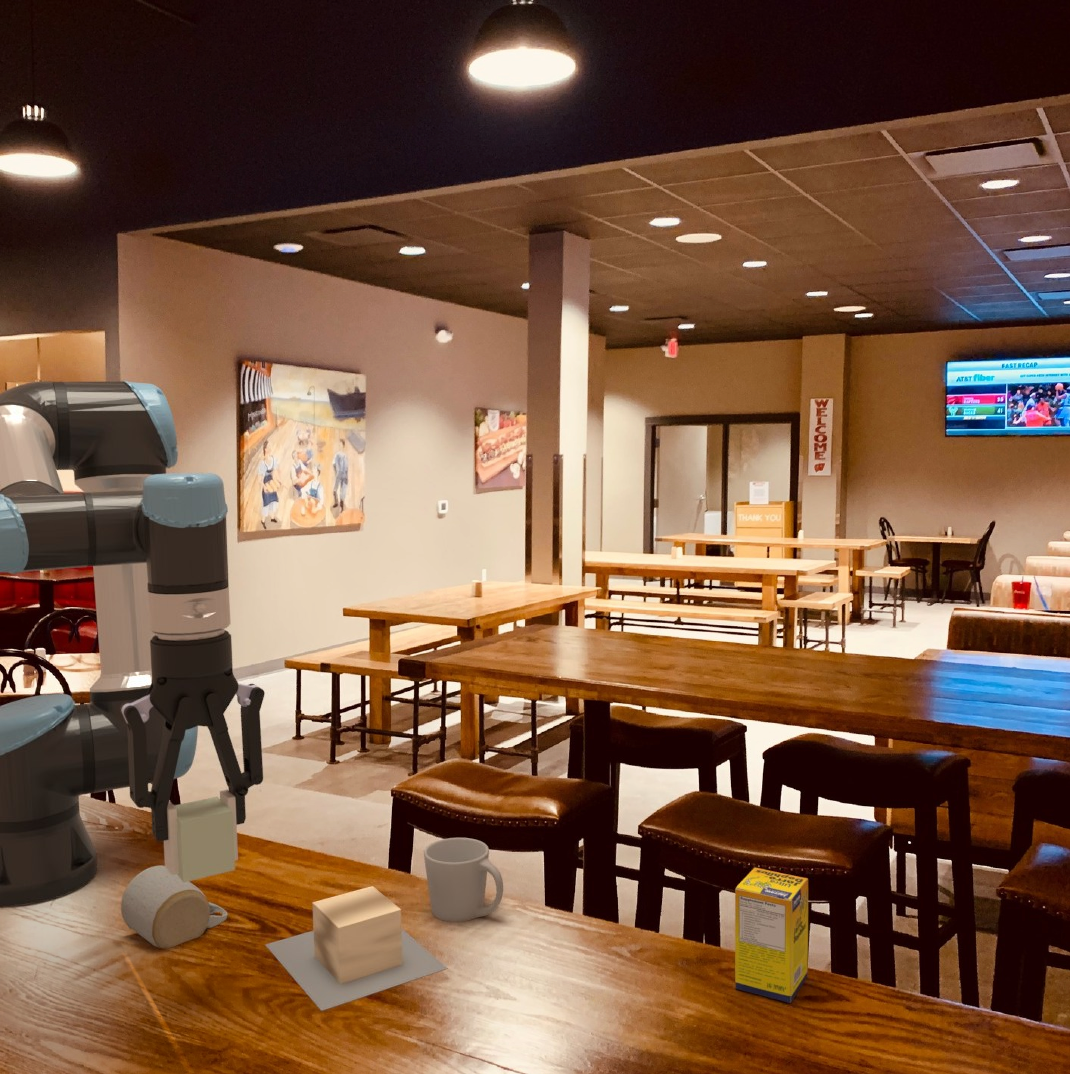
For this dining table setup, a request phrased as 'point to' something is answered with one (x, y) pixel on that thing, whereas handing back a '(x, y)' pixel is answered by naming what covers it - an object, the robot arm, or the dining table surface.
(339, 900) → the base block
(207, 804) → the sage block
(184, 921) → the ceramic mug
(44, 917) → the dining table surface
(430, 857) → the cup
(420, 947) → the board
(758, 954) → the supplement box
